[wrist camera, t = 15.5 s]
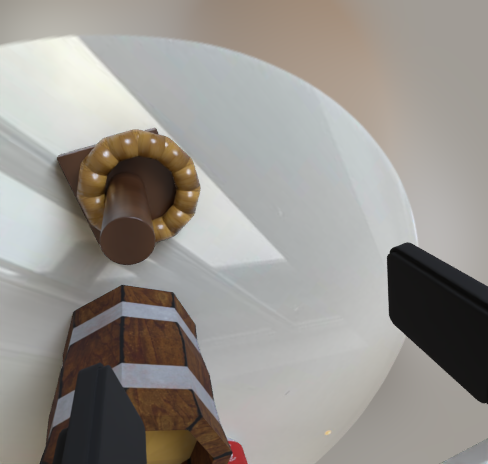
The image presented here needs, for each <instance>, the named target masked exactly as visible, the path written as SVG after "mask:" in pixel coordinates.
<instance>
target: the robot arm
mask: <svg viewBox="0 0 488 464" xmlns="http://www.w3.org/2000/svg"><path fill="white" fill-rule="evenodd" d="M387 272H388V300H389V316H390V319H391V321H392V322H393V324H394V325H395V326H396V327H397V328H398V329H400V330H401V331H402V332H403V333H404V334H405V335H406V336H407V337H408V338H410V339H411V340H412V341H413V342H414V343H415V344H416V345H417V346H418V347H419V348H421V349H422V350H423V351H424V352H425V353H426V354H427V355H428V356H429V357H430V358H432V359H433V360H434V361H435V362H436V363H437V364H438V365H439V366H440V367H441V368H443V369H444V370H445V371H446V372H447V373H448V374H449V375H450V376H451V377H453V379H455V380H456V381H457V382H458V383H459V384H460V385H461V386H462V387H463V388H464V389H466V390H467V391H468V392H469V393H470V394H471V395H472V396H473V397H474V398H475V399H477V400H478V401H480V402H481V403H487V404H488V286H486V285H484V284H482V283H480V282H479V281H477V280H475V279H474V278H472V277H470V276H468V275H466V274H465V273H463V272H461V271H459V270H458V269H456V268H454V267H452V266H451V265H449V264H447V263H445V262H443V261H441V260H440V259H438V258H436V257H435V256H433V255H431V254H429V253H427V252H426V251H424V250H422V249H420V248H419V247H417V246H415V245H413V244H411V243H404V244H402V245H399V246H396V247H394V248H392V249H391V250H390V254H388V256H387ZM52 464H147V454H146V433H145V427H144V424H143V421H142V419H141V417H140V416H139V414H138V412H137V411H136V409H135V407H134V405H133V404H132V402H131V400H130V399H129V397H128V395H127V393H126V392H125V390H124V388H123V387H122V385H121V383H120V381H119V380H118V378H117V376H116V375H115V373H114V371H113V369H112V368H111V366H110V365H106V366H103V364H102V363H97V364H95V365H92V366H90V367H87V368H84V369H82V370H80V371H79V372H78V376H77V381H76V387H75V392H74V398H73V403H72V409H71V414H70V419H69V425H68V427H67V428H65V429H62V430H61V432H60V433H59V436H58V439H57V444H56V448H55V453H54V458H53V463H52ZM440 464H488V439H486V440H484V441H482V442H480V443H478V444H476V445H474V446H472V447H471V448H468V449H467V450H465V451H463V452H461V453H459V454H457V455H455V456H453V457H451V458H450V459H448V460H446V461H444V462H442V463H440Z"/></svg>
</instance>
